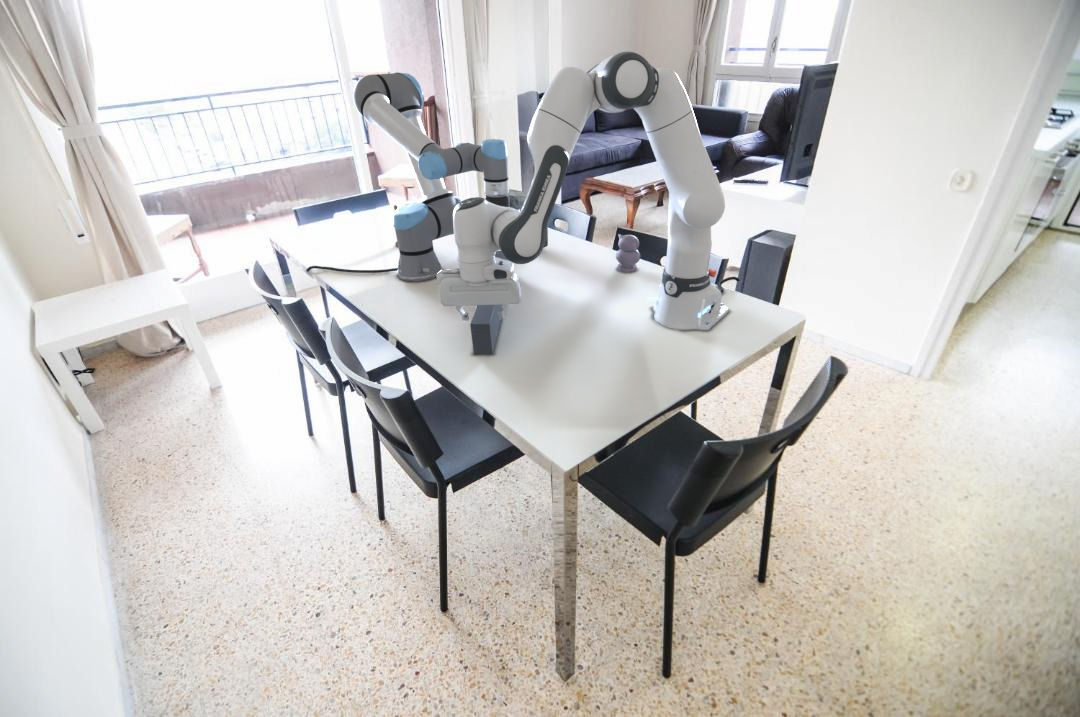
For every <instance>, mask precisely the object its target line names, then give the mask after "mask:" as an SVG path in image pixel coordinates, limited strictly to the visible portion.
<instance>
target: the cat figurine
mask: <svg viewBox="0 0 1080 717" xmlns="http://www.w3.org/2000/svg"><path fill="white" fill-rule="evenodd" d="M617 235H618V239H619V240H618V248H619V249H618V250H617V251H616V253H615V258H616V261H617V262H618V264H617V271H619V272H621V273H633V272H635V271H636V270H637V264H638V262H639V261H640V260H641V253H640V252H639V250H638V249H639V247H640V241H639V239H638V237H637V236H635V235H633V234H624V235H623V234H621V233H618V234H617Z"/></svg>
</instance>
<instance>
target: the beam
mask: <svg viewBox="0 0 1080 717" xmlns="http://www.w3.org/2000/svg"><path fill="white" fill-rule="evenodd" d="M494 255H495V257H497V258H501V259H504V260H508V259H507V258H506V257H505V256H504V254H503V253H502V251H501V250H496V251H495V253H494ZM508 261H509V260H508ZM502 310H503V308H502V305H476V306H475V309H474V312H473V316H472V318H471V321H470V323H469V326H470V333H471V334H470V336H471V342H472V350H473V355H475V356H476V355H493V354H494V349H495V345H496V341H497V337H498V334H499V329H500V326H501V321H502V320H499V316H498V314H499V311H502Z"/></svg>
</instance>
